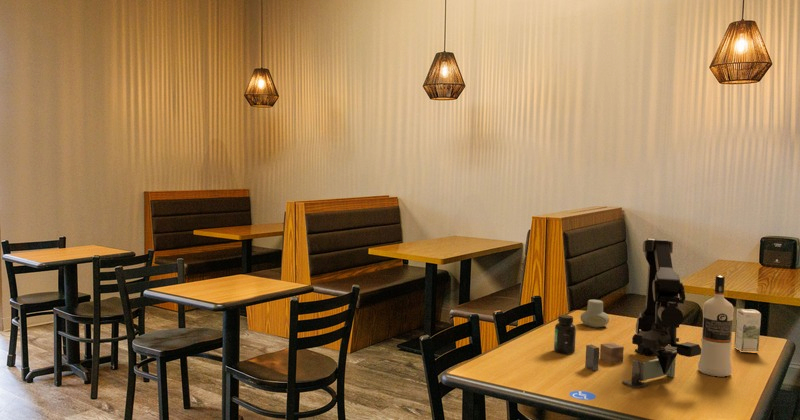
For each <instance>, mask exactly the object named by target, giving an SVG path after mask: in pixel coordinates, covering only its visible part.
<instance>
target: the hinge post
mask: <svg viewBox="0 0 800 420" xmlns="http://www.w3.org/2000/svg"><path fill="white" fill-rule="evenodd" d="M640 362H641V361H640V360H637V359H632V369H631V379H627V380H626V379H625V380H622V381H621V383H622V384H624V385H626V386H627V387H631V388H632V389H634V390H635V389H643V388H648V387H649V384H648V383H645V382H643V381H639V374H640Z"/></svg>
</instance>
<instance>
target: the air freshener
mask: <svg viewBox="0 0 800 420" xmlns="http://www.w3.org/2000/svg"><path fill="white" fill-rule="evenodd" d="M586 309H587V310H585V311H583V312H582V313H581V314H580V316H579V318H580V322H582V323H583V324H584V325H585V326H587V327H590V328H593V327H594V329H595V328H596V329H598V328H603V327H605V326H607V325H608V324H609V323H610V316H609V315H608V314H607V313H606V312H604V301H603V300H600V299H589V300H587V308H586Z"/></svg>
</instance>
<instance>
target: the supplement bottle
mask: <svg viewBox="0 0 800 420" xmlns="http://www.w3.org/2000/svg"><path fill="white" fill-rule="evenodd" d="M557 317H558V318H557V321H558V323H556V324H555V325H554V335H553V336H554V337H553V339H554V341H553V350H554V352H555V353H558V354H561V355H572V354H575V352H576V333H577V332H576V331H577V327H576V325H575V324H573V323H574V317H573V316H572V315H568V314H559V315H558V316H557Z"/></svg>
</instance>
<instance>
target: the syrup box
mask: <svg viewBox="0 0 800 420" xmlns="http://www.w3.org/2000/svg"><path fill="white" fill-rule="evenodd" d="M761 321H762V313H761V312H760V311H758V310H757V309H752V308H749V309H748V308H746V309H745V308H737V309H736V317H735V331H734V332H735V333H734V344H733V348H734V347H736V348H738V349H739V350H741V351H758V352H759V347H760V346H759V344H760V334H761V332H760V331H761Z"/></svg>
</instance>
